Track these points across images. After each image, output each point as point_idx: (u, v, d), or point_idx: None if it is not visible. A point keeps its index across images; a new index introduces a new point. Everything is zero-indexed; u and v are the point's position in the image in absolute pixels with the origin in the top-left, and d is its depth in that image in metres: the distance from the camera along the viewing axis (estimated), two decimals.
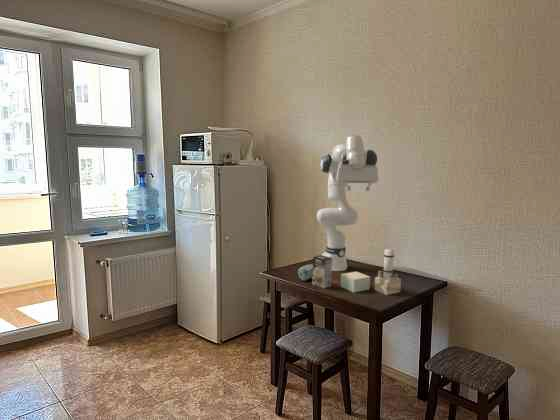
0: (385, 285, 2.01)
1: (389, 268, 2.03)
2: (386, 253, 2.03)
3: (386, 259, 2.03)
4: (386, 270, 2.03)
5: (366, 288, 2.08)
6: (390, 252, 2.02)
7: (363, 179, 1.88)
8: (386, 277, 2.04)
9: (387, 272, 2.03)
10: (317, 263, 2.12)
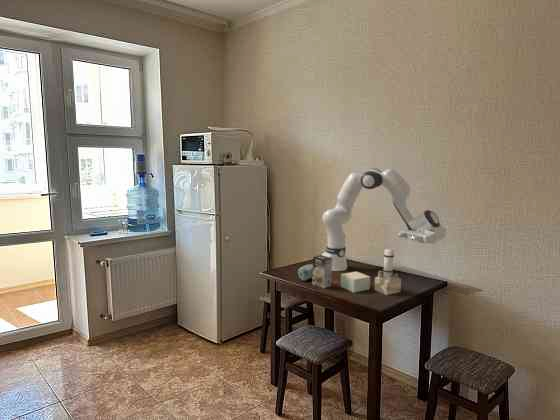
0: (385, 285, 2.01)
1: (389, 268, 2.03)
2: (386, 253, 2.03)
3: (386, 259, 2.03)
4: (386, 270, 2.03)
5: (366, 288, 2.08)
6: (390, 252, 2.02)
7: (408, 238, 2.14)
8: (386, 277, 2.04)
9: (387, 272, 2.03)
10: (317, 263, 2.12)
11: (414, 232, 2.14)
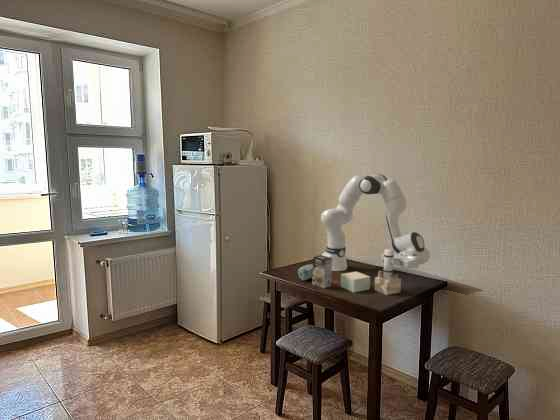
0: (385, 285, 2.01)
1: (389, 268, 2.03)
2: (386, 253, 2.03)
3: (386, 259, 2.03)
4: (386, 270, 2.03)
5: (366, 288, 2.08)
6: (390, 252, 2.02)
7: None
8: (386, 277, 2.04)
9: (387, 272, 2.03)
10: (317, 263, 2.12)
11: (396, 256, 2.09)
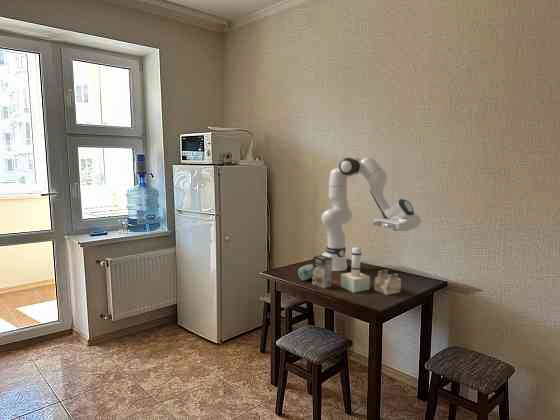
0: (385, 285, 2.01)
1: (356, 266, 2.07)
2: (353, 251, 2.07)
3: (353, 257, 2.07)
4: (353, 267, 2.08)
5: (366, 288, 2.08)
6: (357, 250, 2.06)
7: (382, 226, 2.17)
8: (353, 274, 2.08)
9: (354, 269, 2.07)
10: (317, 263, 2.12)
11: (388, 220, 2.17)
